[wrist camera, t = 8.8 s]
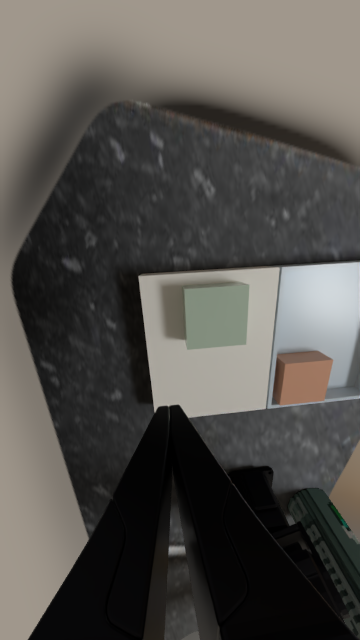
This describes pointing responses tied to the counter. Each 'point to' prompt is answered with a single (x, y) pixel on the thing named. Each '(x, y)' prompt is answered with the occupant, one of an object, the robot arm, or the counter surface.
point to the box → (320, 322)
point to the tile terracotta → (301, 377)
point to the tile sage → (215, 314)
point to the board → (208, 363)
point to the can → (332, 546)
